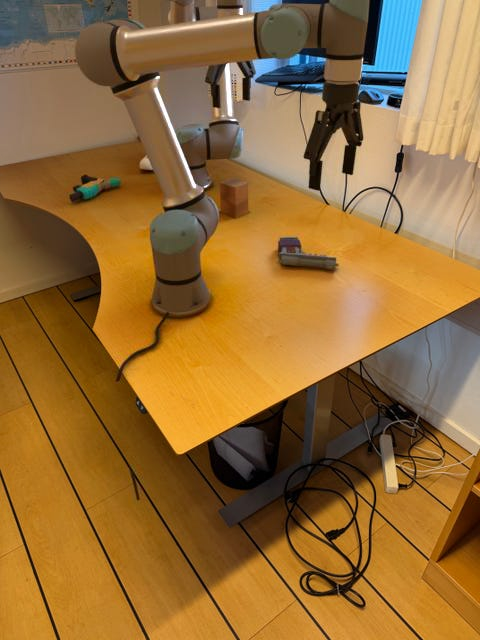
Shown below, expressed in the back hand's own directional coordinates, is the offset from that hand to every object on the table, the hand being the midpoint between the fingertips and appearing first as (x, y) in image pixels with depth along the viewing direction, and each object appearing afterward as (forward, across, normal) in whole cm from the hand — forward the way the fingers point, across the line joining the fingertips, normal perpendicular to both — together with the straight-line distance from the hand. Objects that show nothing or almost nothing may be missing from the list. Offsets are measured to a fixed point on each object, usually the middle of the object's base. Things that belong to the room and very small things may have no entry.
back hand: (231, 103), depth 152 cm
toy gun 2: (+36, +11, +41) cm, 56 cm away
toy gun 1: (+37, +26, -56) cm, 72 cm away
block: (+37, 0, 0) cm, 37 cm away
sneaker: (+37, -16, -63) cm, 75 cm away
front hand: (+6, +23, +54) cm, 59 cm away
